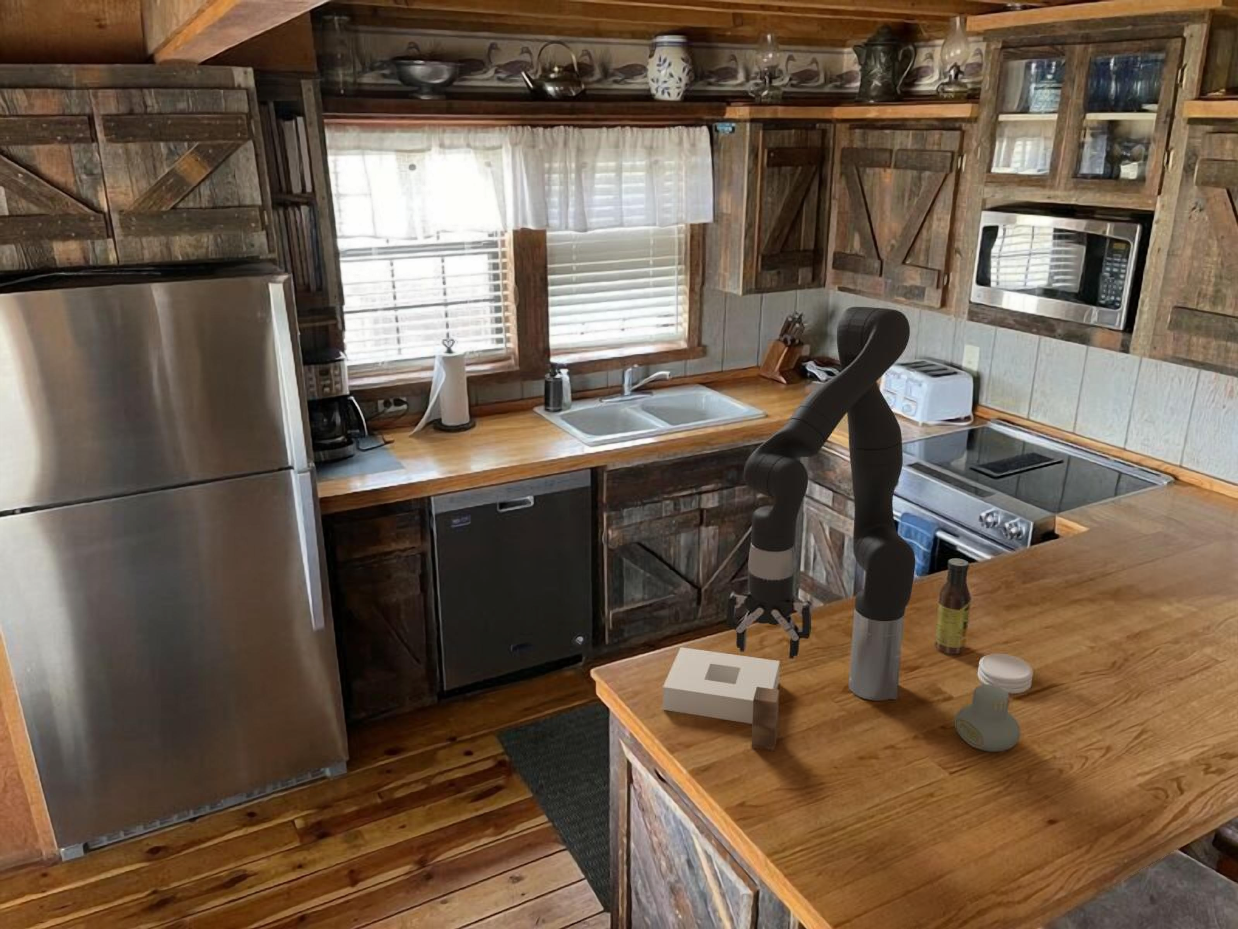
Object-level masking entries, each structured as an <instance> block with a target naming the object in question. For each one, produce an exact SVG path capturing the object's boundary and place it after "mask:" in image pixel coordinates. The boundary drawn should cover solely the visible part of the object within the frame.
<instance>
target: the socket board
mask: <svg viewBox="0 0 1238 929" xmlns="http://www.w3.org/2000/svg"><path fill="white" fill-rule="evenodd" d="M780 663H781V661H780V660H777V659H776V660H775V659H767V658H760V657H752V656H745V655H739V654H732V653H731V654H729V653H725V652H724V653H723V652H717V651H709V650H702V649H696V648H689V647H682V646H681V647H680V648H679V651H678V652H677V654H676V657H675V659H674V661H673V664H672V665H671V668H670V669H669V672H668V674H667V676H666V679H665V682H664V684H663V686H662V710H663V711H668V712H669V711H670V712H676V713H681V714H689V715H695V716H701V717H706V718H712V719H720V720H726V721H732V722H738V723H746V724H752V721H753V699H754V695H755V692H756V688H757V687H762V688H769V689H776V690H778V687H779V682H780V681H779V680H780Z"/></svg>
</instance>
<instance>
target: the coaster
mask: <svg viewBox="0 0 1238 929" xmlns="http://www.w3.org/2000/svg"><path fill="white" fill-rule="evenodd" d="M977 669H978V670H977V678H978V680H979V681H980V682H981V684H982V685H994V686H997V687H1000V688H1002V689H1003V690H1005V691H1006V692H1007V693H1008V694H1015V695H1016V694H1021V693H1025V692H1027V691H1028V690H1029V689H1030V688H1031V686H1032V681H1033V676H1034V671H1033V668H1032V667H1031V665H1030V664H1029V663H1028V662H1026V661H1025V660H1023V659H1022V658H1019V657H1016V656H1014V655H1011V654H1005V653H990V654H986V655H984V656H983V657H981V658H980V660H979V662H978V668H977Z"/></svg>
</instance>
